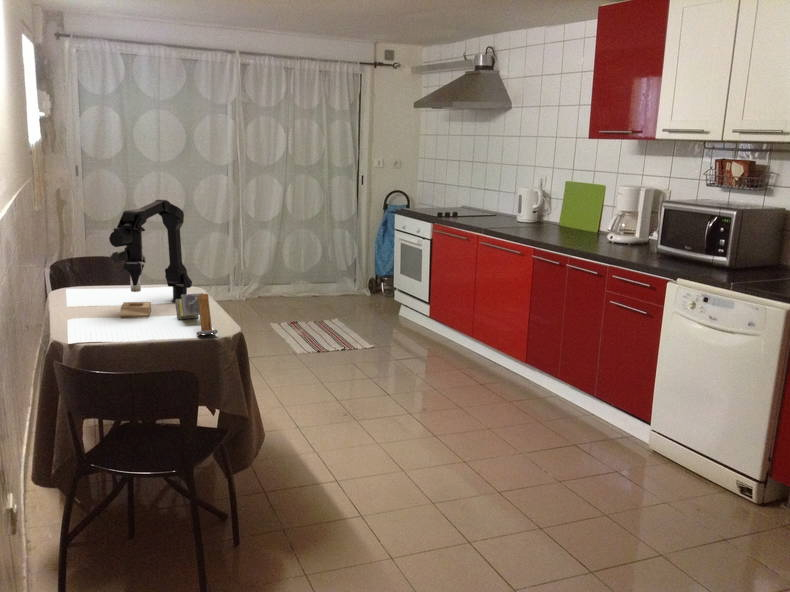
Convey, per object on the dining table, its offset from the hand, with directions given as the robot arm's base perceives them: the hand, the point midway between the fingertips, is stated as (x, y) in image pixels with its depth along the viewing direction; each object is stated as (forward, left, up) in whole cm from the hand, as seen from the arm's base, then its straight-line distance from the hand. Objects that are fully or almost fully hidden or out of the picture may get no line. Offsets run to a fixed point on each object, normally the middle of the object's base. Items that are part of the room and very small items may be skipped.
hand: (135, 284), depth 266 cm
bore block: (0, 0, -12) cm, 12 cm away
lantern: (+21, +23, -12) cm, 34 cm away
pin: (0, 0, -3) cm, 2 cm away
